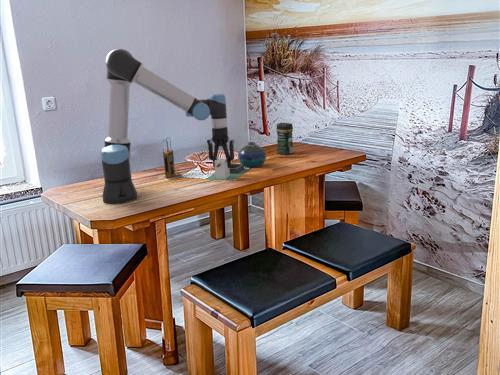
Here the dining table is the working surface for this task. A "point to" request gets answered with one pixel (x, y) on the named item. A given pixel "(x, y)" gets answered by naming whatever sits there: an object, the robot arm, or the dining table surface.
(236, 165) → the board
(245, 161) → the vase
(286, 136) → the coffee jar
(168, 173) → the multimeter
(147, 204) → the dining table surface
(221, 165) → the plug
